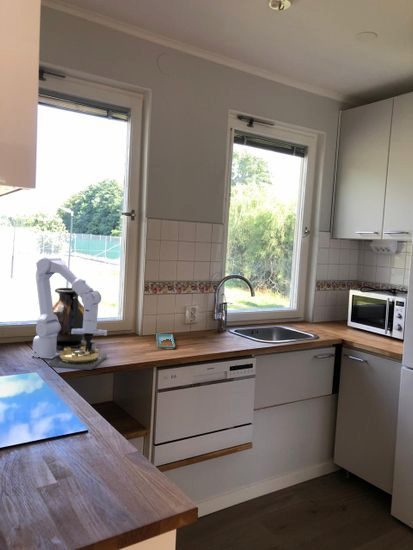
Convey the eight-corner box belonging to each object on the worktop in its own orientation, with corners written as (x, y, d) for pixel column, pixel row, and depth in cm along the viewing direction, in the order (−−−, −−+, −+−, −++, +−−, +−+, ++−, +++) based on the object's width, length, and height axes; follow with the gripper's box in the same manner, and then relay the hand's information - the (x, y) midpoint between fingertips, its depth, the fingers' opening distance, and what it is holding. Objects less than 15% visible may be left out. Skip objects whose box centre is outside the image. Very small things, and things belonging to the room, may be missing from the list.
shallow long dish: (175, 350, 223) (175, 345, 223) (156, 350, 222) (157, 345, 222) (172, 338, 249) (172, 334, 249) (156, 338, 248) (156, 333, 247)
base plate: (48, 366, 183) (48, 362, 183) (68, 354, 203) (68, 350, 203) (91, 369, 181) (91, 365, 181) (106, 357, 201) (106, 353, 201)
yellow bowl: (86, 364, 182) (87, 347, 182) (51, 359, 186) (52, 342, 186) (104, 355, 198) (105, 339, 197) (72, 351, 202) (73, 335, 201)
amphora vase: (97, 349, 215) (99, 291, 213) (53, 354, 201) (55, 292, 199) (78, 339, 231) (80, 286, 229) (36, 343, 218) (38, 287, 216)
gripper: (107, 318, 194) (105, 349, 195) (73, 317, 192) (71, 348, 193) (107, 321, 188) (105, 353, 189) (71, 320, 185) (69, 352, 186)
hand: (88, 351), depth 190 cm, fingers closed, pressing on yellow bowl
